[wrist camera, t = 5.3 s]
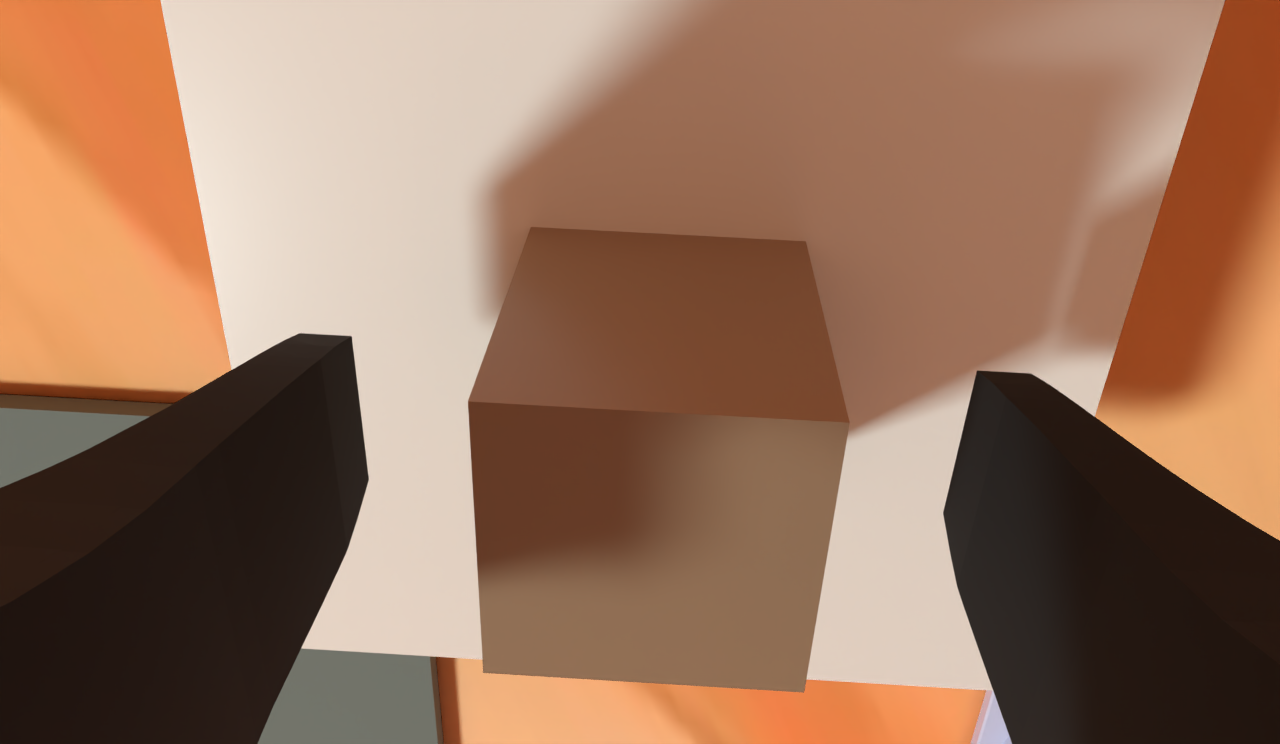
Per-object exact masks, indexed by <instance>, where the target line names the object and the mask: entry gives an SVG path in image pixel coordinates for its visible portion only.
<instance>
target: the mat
mask: <svg viewBox="0 0 1280 744" xmlns="http://www.w3.org/2000/svg"><path fill="white" fill-rule="evenodd" d="M171 405H172V404H165V403H148V402H130V401H112V400H95V399H77V398H59V397H42V396H24V395H6V394H0V488H1V487H4V486H6V485H9V484H11V483H13V482H16V481H18V480H20V479H23V478H25V477H28V476H30V475H32V474H35V473H37V472H39V471H42V470H44V469H46V468H49V467H51V466H53V465H55V464H57V463H59V462H62V461H64V460H66V459H68V458H70V457H72V456H75V455H77V454H79V453H81V452H83V451H85V450H87V449H89V448H91V447H93V446H95V445H97V444H99V443H101V442H103V441H104V440H106V439H108V438H110V437H112V436H114V435H116V434H118V433H120V432H122V431H123V430H125V429H127V428H129V427H131V426H133V425H135V424H137V423H139V422H141V421H142V420H144V419H146V418H148V417H150V416H152V415H154V414H156V413H158V412H160V411H161V410H163V409H165V408H167V407H169V406H171ZM258 744H444V743H443V731H442V720H441V709H440V698H439V686H438V675H437V664H436V657H433V656H417V655H401V654H384V653H368V652H351V651H335V650H319V649H302V648H301V650H300V652H299V654H298V656H297V658H296V660H295V662H294V664H293V667H292V669H291V671H290V673H289V675H288V677H287V679H286V681H285V683H284V685H283V687H282V689H281V692H280V694H279V696H278V698H277V700H276V702H275V704H274V706H273V708H272V711H271V713H270V715H269V718H268V720H267V722H266V725H265V727H264V730H263V732H262V734H261V737H260V739H259V741H258Z"/></svg>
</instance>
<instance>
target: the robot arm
mask: <svg viewBox="0 0 1280 744" xmlns="http://www.w3.org/2000/svg"><path fill="white" fill-rule="evenodd" d="M368 481H369V476H368V468H367V459H366V451H365V443H364V435H363V426H362V418H361V410H360V401H359V393H358V385H357V376H356V368H355V360H354V351H353V343H352V336H342V335H324V334H306V333H299V334H297V335H295V336H292V337H290V338H288V339H286V340H284V341H282V342H280V343H278V344H276V345H274V346H273V347H271V348H269V349H267V350H265V351H264V352H262V353H260V354H258V355H257V356H255V357H253V358H251V359H250V360H248V361H246V362H245V363H243V364H241V365H239V366H238V367H236V368H234V369H233V370H231V371H229V372H228V373H226V374H224V375H222V376H221V377H219V378H217V379H216V380H214V381H212V382H210V383H209V384H207V385H205V386H203V387H202V388H200V389H198V390H197V391H195V392H193V393H191V394H190V395H188V396H186V397H184V398H183V399H181V400H179V401H178V402H176V403H174V404H172V405H171V406H169V407H167V408H165V409H163V410H161V411H160V412H158V413H156V414H154V415H152V416H150V417H148V418H146V419H144V420H142V421H141V422H139V423H137V424H135V425H133V426H131V427H129V428H127V429H125V430H123V431H122V432H120V433H118V434H116V435H114V436H112V437H110V438H108V439H106V440H104V441H103V442H101V443H99V444H97V445H95V446H93V447H91V448H89V449H87V450H85V451H83V452H81V453H79V454H77V455H75V456H72V457H70V458H68V459H66V460H64V461H62V462H59V463H57V464H55V465H53V466H51V467H49V468H46V469H44V470H42V471H39V472H37V473H35V474H32V475H30V476H28V477H25V478H23V479H20V480H18V481H16V482H13V483H11V484H9V485H6V486H4V487H1V488H0V744H258V741H259V739H260V737H261V734H262V732H263V730H264V727H265V725H266V722H267V720H268V718H269V715H270V713H271V711H272V708H273V706H274V704H275V702H276V700H277V698H278V696H279V694H280V692H281V689H282V687H283V685H284V683H285V681H286V679H287V677H288V675H289V673H290V671H291V669H292V667H293V664H294V662H295V660H296V658H297V656H298V654H299V652H300V650H301V648H302V646H303V644H304V642H305V639H306V637H307V635H308V633H309V631H310V629H311V627H312V625H313V623H314V621H315V619H316V617H317V614H318V612H319V610H320V608H321V606H322V604H323V602H324V600H325V598H326V596H327V593H328V591H329V589H330V587H331V585H332V583H333V581H334V578H335V576H336V574H337V572H338V570H339V568H340V566H341V563H342V561H343V559H344V557H345V555H346V552H347V550H348V547H349V544H350V541H351V538H352V534H353V531H354V528H355V525H356V522H357V519H358V516H359V512H360V509H361V505H362V502H363V498H364V495H365V492H366V488H367V485H368ZM943 516H944V521H945V527H946V532H947V538H948V544H949V549H950V555H951V560H952V564H953V569H954V574H955V579H956V584H957V588H958V591H959V594H960V597H961V600H962V603H963V606H964V609H965V612H966V615H967V617H968V620H969V623H970V626H971V629H972V632H973V635H974V638H975V641H976V644H977V646H978V649H979V652H980V655H981V658H982V660H983V663H984V666H985V669H986V672H987V675H988V677H989V680H990V683H991V686H992V689H993V691H991V690H986V694H985V697H984V700H983V704H982V707H981V711H980V714H979V717H978V721H977V724H976V727H975V731H974V734H973V737H972V741H971V744H1280V541H1279V540H1277V539H1276V538H1274V537H1272V536H1271V535H1269V534H1267V533H1266V532H1264V531H1262V530H1260V529H1259V528H1257V527H1255V526H1254V525H1252V524H1250V523H1249V522H1247V521H1245V520H1244V519H1242V518H1241V517H1239V516H1238V515H1236V514H1235V513H1233V512H1231V511H1230V510H1228V509H1227V508H1225V507H1224V506H1222V505H1220V504H1219V503H1217V502H1216V501H1214V500H1213V499H1211V498H1210V497H1208V496H1206V495H1205V494H1203V493H1202V492H1200V491H1199V490H1197V489H1196V488H1194V487H1193V486H1191V485H1190V484H1188V483H1187V482H1185V481H1184V480H1182V479H1181V478H1179V477H1178V476H1176V475H1175V474H1173V473H1172V472H1171V471H1169V470H1168V469H1166V468H1165V467H1163V466H1162V465H1161V464H1159V463H1158V462H1156V461H1155V460H1153V459H1152V458H1151V457H1149V456H1148V455H1146V454H1145V453H1144V452H1142V451H1141V450H1139V449H1138V448H1137V447H1135V446H1134V445H1132V444H1131V443H1130V442H1128V441H1127V440H1126V439H1124V438H1123V437H1121V436H1120V435H1119V434H1117V433H1116V432H1115V431H1113V430H1112V429H1111V428H1109V427H1108V426H1106V425H1105V424H1104V423H1102V422H1101V421H1100V420H1098V419H1097V418H1096V417H1094V416H1093V415H1091V414H1090V413H1089V412H1087V411H1086V410H1085V409H1083V408H1082V407H1081V406H1079V405H1078V404H1076V403H1075V402H1074V401H1072V400H1071V399H1069V398H1068V397H1067V396H1065V395H1064V394H1062V393H1061V392H1060V391H1058V390H1057V389H1055V388H1054V387H1052V386H1051V385H1049V384H1048V383H1046V382H1045V381H1043V380H1041V379H1040V378H1038V377H1036V376H1034V375H1033V374H1031V373H1014V372H996V371H978V370H977V372H976V376H975V381H974V385H973V389H972V393H971V398H970V402H969V406H968V410H967V414H966V419H965V423H964V427H963V431H962V435H961V440H960V444H959V448H958V452H957V456H956V461H955V465H954V469H953V473H952V477H951V482H950V486H949V490H948V494H947V498H946V503H945V507H944V511H943Z"/></svg>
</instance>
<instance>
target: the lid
mask: <svg viewBox="0 0 1280 744" xmlns="http://www.w3.org/2000/svg"><path fill="white" fill-rule="evenodd" d="M1224 2H1225V0H161V5H162V11H163V16H164V21H165V26H166V31H167V37H168V42H169V47H170V52H171V57H172V63H173V68H174V73H175V78H176V83H177V89H178V94H179V99H180V104H181V109H182V115H183V120H184V125H185V130H186V135H187V141H188V146H189V151H190V156H191V161H192V167H193V172H194V177H195V182H196V187H197V193H198V198H199V203H200V208H201V213H202V219H203V224H204V229H205V234H206V239H207V245H208V250H209V255H210V260H211V265H212V271H213V276H214V281H215V286H216V291H217V297H218V302H219V307H220V312H221V317H222V323H223V328H224V333H225V338H226V343H227V349H228V354H229V359H230V364H231V369H232V370H233V369H234V368H236V367H238V366H239V365H241V364H243V363H245V362H246V361H248V360H250V359H251V358H253V357H255V356H257V355H258V354H260V353H262V352H264V351H265V350H267V349H269V348H271V347H273V346H274V345H276V344H278V343H280V342H282V341H284V340H286V339H288V338H290V337H292V336H295V335H297V334H299V333H306V334H324V335H342V336H352V343H353V351H354V360H355V368H356V376H357V385H358V393H359V401H360V410H361V418H362V426H363V435H364V443H365V451H366V459H367V468H368V476H369V481H368V485H367V488H366V492H365V495H364V498H363V502H362V505H361V509H360V512H359V516H358V519H357V522H356V525H355V528H354V531H353V534H352V538H351V541H350V544H349V547H348V550H347V552H346V555H345V557H344V559H343V561H342V563H341V566H340V568H339V570H338V572H337V574H336V576H335V578H334V581H333V583H332V585H331V587H330V589H329V591H328V593H327V596H326V598H325V600H324V602H323V604H322V606H321V608H320V610H319V612H318V614H317V617H316V619H315V621H314V623H313V625H312V627H311V629H310V631H309V633H308V635H307V637H306V639H305V642H304V644H303V646H302V649H319V650H335V651H351V652H368V653H384V654H401V655H417V656H433V657H450V658H466V659H482V660H483V673H495V674H512V675H528V676H544V677H561V678H577V679H593V680H610V681H626V682H642V683H659V684H675V685H691V686H708V687H724V688H740V689H757V690H773V691H789V692H804V690H805V684H806V679H810V680H827V681H843V682H859V683H876V684H892V685H909V686H925V687H941V688H958V689H974V690H991V691H993V689H992V686H991V683H990V680H989V677H988V675H987V672H986V669H985V666H984V663H983V660H982V658H981V655H980V652H979V649H978V646H977V644H976V641H975V638H974V635H973V632H972V629H971V626H970V623H969V620H968V617H967V615H966V612H965V609H964V606H963V603H962V600H961V597H960V594H959V591H958V588H957V584H956V579H955V574H954V569H953V564H952V560H951V555H950V549H949V544H948V538H947V532H946V527H945V521H944V516H943V511H944V507H945V503H946V498H947V494H948V490H949V486H950V482H951V477H952V473H953V469H954V465H955V461H956V456H957V452H958V448H959V444H960V440H961V435H962V431H963V427H964V423H965V419H966V414H967V410H968V406H969V402H970V398H971V393H972V389H973V385H974V381H975V376H976V372H977V370H978V371H996V372H1014V373H1031V374H1033V375H1034V376H1036V377H1038V378H1040V379H1041V380H1043V381H1045V382H1046V383H1048V384H1049V385H1051V386H1052V387H1054V388H1055V389H1057V390H1058V391H1060V392H1061V393H1062V394H1064V395H1065V396H1067V397H1068V398H1069V399H1071V400H1072V401H1074V402H1075V403H1076V404H1078V405H1079V406H1081V407H1082V408H1083V409H1085V410H1086V411H1087V412H1089V413H1090V414H1091V415H1093V416H1094V417H1095V414H1096V411H1097V407H1098V404H1099V401H1100V398H1101V395H1102V391H1103V388H1104V385H1105V382H1106V379H1107V375H1108V372H1109V369H1110V366H1111V363H1112V360H1113V356H1114V353H1115V350H1116V347H1117V344H1118V340H1119V337H1120V334H1121V331H1122V328H1123V324H1124V321H1125V318H1126V315H1127V312H1128V308H1129V305H1130V302H1131V299H1132V296H1133V293H1134V289H1135V286H1136V283H1137V280H1138V277H1139V273H1140V270H1141V267H1142V264H1143V261H1144V257H1145V254H1146V251H1147V248H1148V245H1149V242H1150V238H1151V235H1152V232H1153V229H1154V226H1155V222H1156V219H1157V216H1158V213H1159V210H1160V206H1161V203H1162V200H1163V197H1164V194H1165V191H1166V187H1167V184H1168V181H1169V178H1170V175H1171V171H1172V168H1173V165H1174V162H1175V159H1176V155H1177V152H1178V149H1179V146H1180V143H1181V140H1182V136H1183V133H1184V130H1185V127H1186V124H1187V120H1188V117H1189V114H1190V111H1191V108H1192V104H1193V101H1194V98H1195V95H1196V92H1197V88H1198V85H1199V82H1200V79H1201V76H1202V73H1203V69H1204V66H1205V63H1206V60H1207V57H1208V53H1209V50H1210V47H1211V44H1212V41H1213V37H1214V34H1215V31H1216V28H1217V25H1218V22H1219V18H1220V15H1221V12H1222V9H1223V6H1224Z"/></svg>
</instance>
